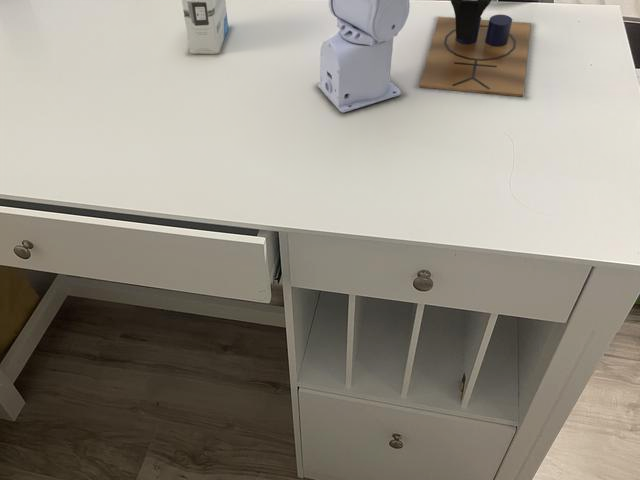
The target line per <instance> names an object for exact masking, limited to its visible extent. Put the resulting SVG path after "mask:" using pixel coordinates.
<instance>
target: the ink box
mask: <svg viewBox="0 0 640 480" xmlns="http://www.w3.org/2000/svg"><path fill="white" fill-rule="evenodd" d="M181 4H182V11H183V17H184V23H185V29H186V36H187V43H188V47H189V53H190V54H191V55H192V54H194V55H195V54H197V55H199V54H202V55H204V54H205V55H207V54H208V55H217V54H219V53H220V51H221V48H222V46H223V43H224V41H225V39H226V35H227V33H228V30H229V22H228V12H227V1H226V0H181Z"/></svg>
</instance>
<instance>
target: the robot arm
mask: <svg viewBox="0 0 640 480" xmlns="http://www.w3.org/2000/svg"><path fill="white" fill-rule="evenodd" d="M491 2H492V0H450V3H451V5H452V8H453V11H454V18H455V21H456V37H457V39H461V40H471V39H472V37H473V35H474V32H475V30H476V27H477V24H478V22H479V19H480V17H481V18H482V15H483V13H484V12H485V10H486V9H487V7H489V5H490V4H491ZM410 5H411V4H410V0H328V8H329V12H330V14H332V15H333V16H334V17H335V18H336V27H337V28H338V29H339V31H338V32H337V33H336V34H335V35H333V36H332V37H330V38H328V39H326V40H323V42H322V43H321V46H320V55H319V56H320V57H319V59H320V60H319V61H320V63H319V65H320V66H319V69H320V71H319V73H320V74H319V76H320V78H319V80H320V81H319V82H318V84H317V87H318V88H319V89H320V90H321V92H322V93H323V94H324V96H326V97H327V99H328V100H330V102H331V103H332V104H333V105H334V106H335V107H336V109H337V110H339V112H340V113H347V112H350V111H353V110H357V109H360V108H363V107H366V106H369V105H373V104H376V103H380V102H382V101H385V100H389V99H392V98H395V97H399V96H401V95H402V91H401V89H399V88H398V87H397V86H396V85H395V84H394V83H393V82H392V81H391V71H392V70H391V69H392V59H393V58H392V57H393V49H394V48H393V47H394V38H395V37H397V36H398V34H399V33H400V32H401V30H402V29H403V28H404V26H405V25H406V23H407V20H408V18H409V13H410V7H411V6H410Z"/></svg>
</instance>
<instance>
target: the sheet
mask: <svg viewBox="0 0 640 480" xmlns="http://www.w3.org/2000/svg"><path fill="white" fill-rule="evenodd" d="M488 24H489V19H488V20H487V19H481V22H480V27H479V32H478V38H477V41H476V42H474V43H472V44H461V43H459V42H457V41H456V39H455V38H456V21H455V17H444V16H438V18H437V21H436V25H435V29H434V34H433V36H432V39H431V43H430V47H429V50H428V53H427V58H426V61H425V65H424V68H423V72H422V75H421V79H420V82H419V88H426V89H427V88H428V89H436V90H446V91H456V92H457V91H458V92H470V93H479V94H489V95H491V94H492V95H500V96H511V97H521V98H523V97H524V92H525V84H526V82H525V81H526V74H527V65H528V57H529V56H528V55H529V54H528V53H529V46H530V38H531V37H530V36H531V28H532V27H531V26H532V23H531V22H519V21H512V24H511V29H510V33H509V37H508V42H507V44H506V45H504V46H499V47H495V46H490V45H488V44H487V43H486V42H485V39H486V34H487V29H488Z"/></svg>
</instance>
